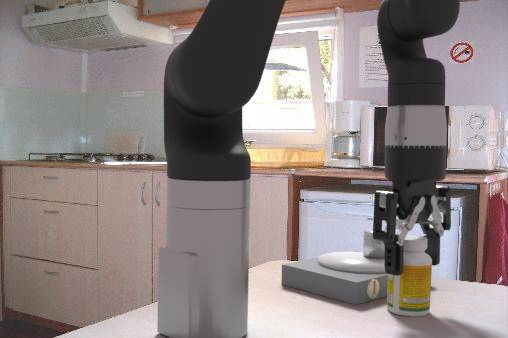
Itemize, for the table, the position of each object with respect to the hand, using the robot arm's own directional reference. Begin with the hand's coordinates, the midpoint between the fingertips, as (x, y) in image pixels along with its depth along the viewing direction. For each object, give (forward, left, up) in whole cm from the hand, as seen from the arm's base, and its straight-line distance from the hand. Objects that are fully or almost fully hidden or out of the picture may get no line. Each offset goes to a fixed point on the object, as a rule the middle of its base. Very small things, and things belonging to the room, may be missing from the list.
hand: (413, 269), depth 74 cm
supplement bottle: (0, 0, -6) cm, 6 cm away
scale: (+6, +13, -5) cm, 15 cm away
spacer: (+11, +13, -2) cm, 17 cm away
